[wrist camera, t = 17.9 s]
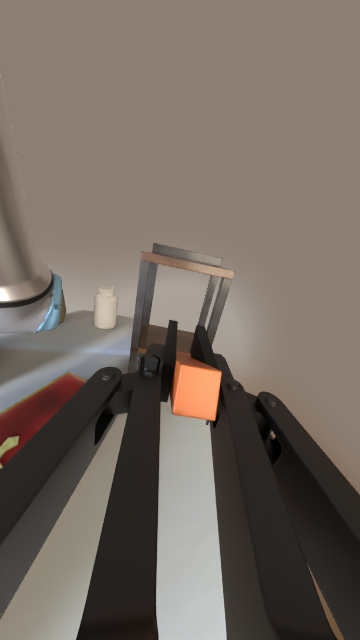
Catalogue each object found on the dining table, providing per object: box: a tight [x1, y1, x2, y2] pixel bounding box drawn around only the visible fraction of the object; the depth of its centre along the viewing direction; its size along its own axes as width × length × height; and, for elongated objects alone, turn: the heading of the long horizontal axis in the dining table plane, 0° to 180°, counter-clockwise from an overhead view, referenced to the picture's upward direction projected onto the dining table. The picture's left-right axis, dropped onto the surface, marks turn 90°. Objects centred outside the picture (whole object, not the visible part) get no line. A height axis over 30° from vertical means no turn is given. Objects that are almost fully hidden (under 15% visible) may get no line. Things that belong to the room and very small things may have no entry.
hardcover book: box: [0, 372, 87, 469], centre depth 25 cm, size 12×21×4 cm, turn 161°
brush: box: [170, 351, 222, 421], centre depth 16 cm, size 19×6×4 cm
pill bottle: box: [94, 285, 118, 329], centre depth 62 cm, size 8×8×15 cm
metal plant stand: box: [128, 243, 234, 373], centre depth 41 cm, size 13×17×32 cm
